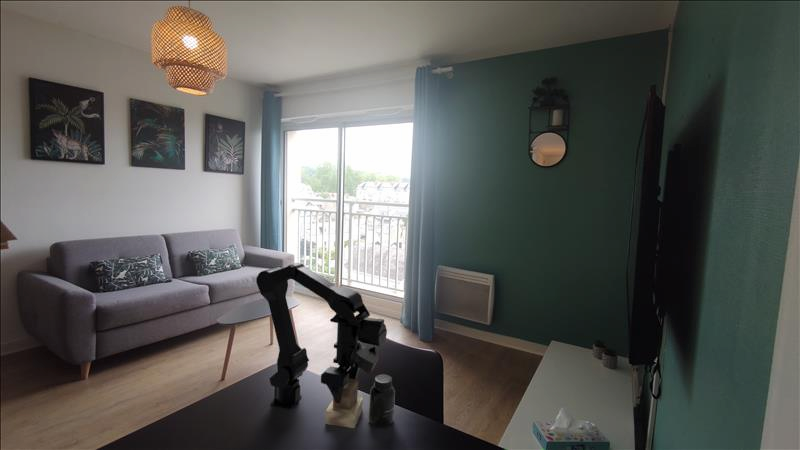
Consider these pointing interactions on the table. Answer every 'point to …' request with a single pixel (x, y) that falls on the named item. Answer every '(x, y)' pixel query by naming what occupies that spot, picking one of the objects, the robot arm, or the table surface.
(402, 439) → the table surface
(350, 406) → the walnut block
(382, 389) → the supplement bottle
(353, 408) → the oak block
